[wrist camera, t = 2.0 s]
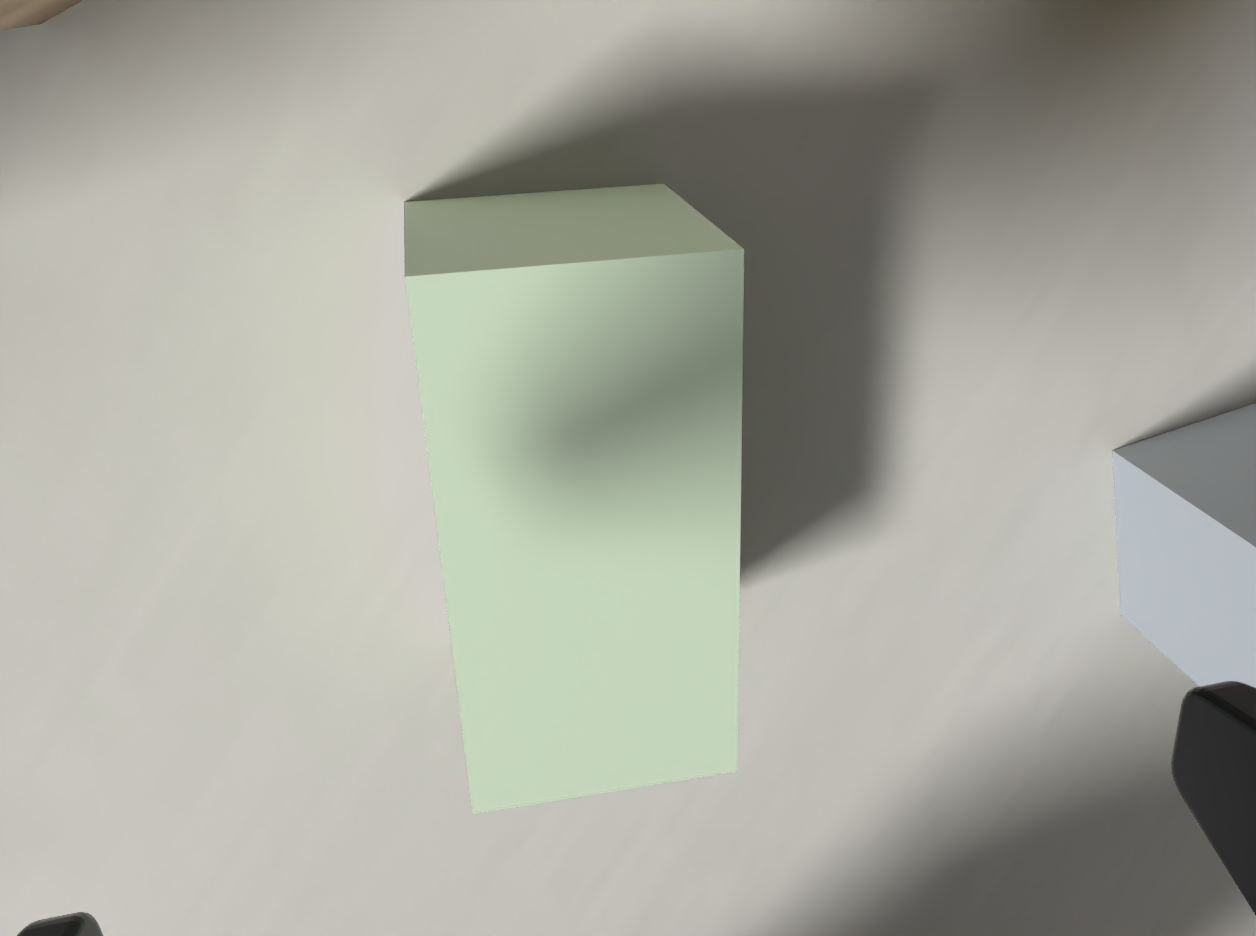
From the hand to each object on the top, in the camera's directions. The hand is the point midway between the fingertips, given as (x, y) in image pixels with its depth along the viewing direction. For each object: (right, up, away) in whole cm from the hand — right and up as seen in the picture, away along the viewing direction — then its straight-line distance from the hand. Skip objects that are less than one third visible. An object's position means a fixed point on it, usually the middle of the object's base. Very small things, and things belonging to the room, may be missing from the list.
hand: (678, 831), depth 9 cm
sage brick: (-2, +4, +7) cm, 8 cm away
